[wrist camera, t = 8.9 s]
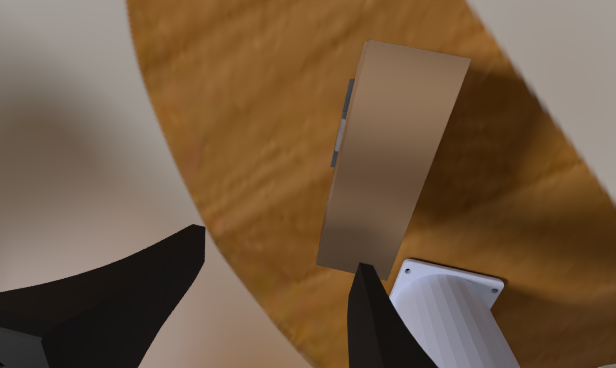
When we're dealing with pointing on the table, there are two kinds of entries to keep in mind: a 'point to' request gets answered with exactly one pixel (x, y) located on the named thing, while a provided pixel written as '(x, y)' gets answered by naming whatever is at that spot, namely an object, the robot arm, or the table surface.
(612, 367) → the cylinder with rectangular tab
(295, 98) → the table surface
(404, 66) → the rectangular block
